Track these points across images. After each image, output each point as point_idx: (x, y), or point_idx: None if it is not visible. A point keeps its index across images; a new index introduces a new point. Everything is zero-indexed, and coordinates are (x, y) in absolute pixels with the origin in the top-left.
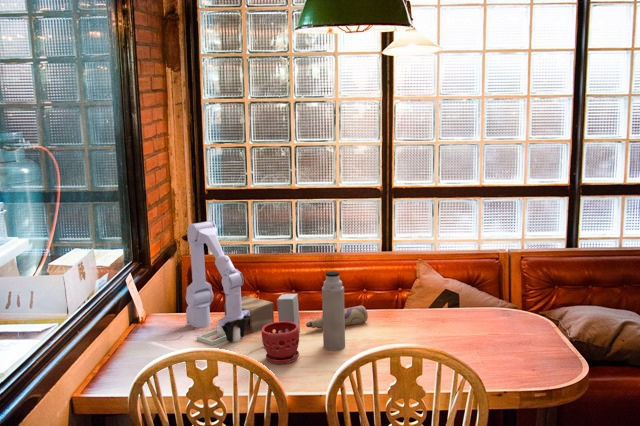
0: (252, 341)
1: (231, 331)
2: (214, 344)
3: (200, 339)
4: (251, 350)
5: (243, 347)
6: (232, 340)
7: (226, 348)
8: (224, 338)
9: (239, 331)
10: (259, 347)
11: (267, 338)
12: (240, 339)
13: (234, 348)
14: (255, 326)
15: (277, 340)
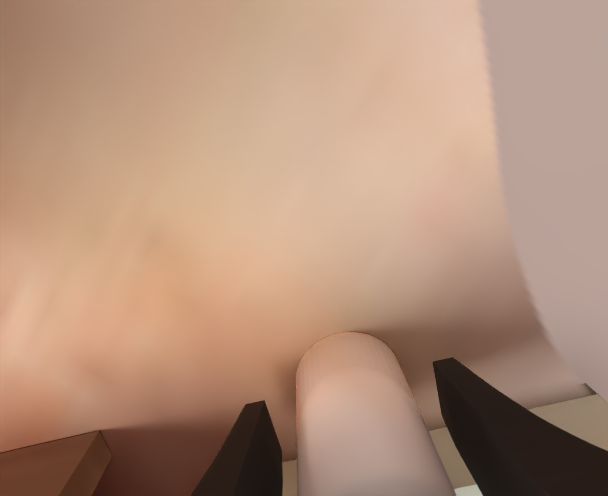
0: (185, 289)
1: (556, 450)
2: (603, 418)
3: None
4: (349, 26)
5: (368, 196)
6: (439, 365)
7: (524, 296)
8: (460, 470)
9: (333, 448)
10: (205, 48)
11: None
12: (303, 374)
13: (463, 239)
14: None
15: None
